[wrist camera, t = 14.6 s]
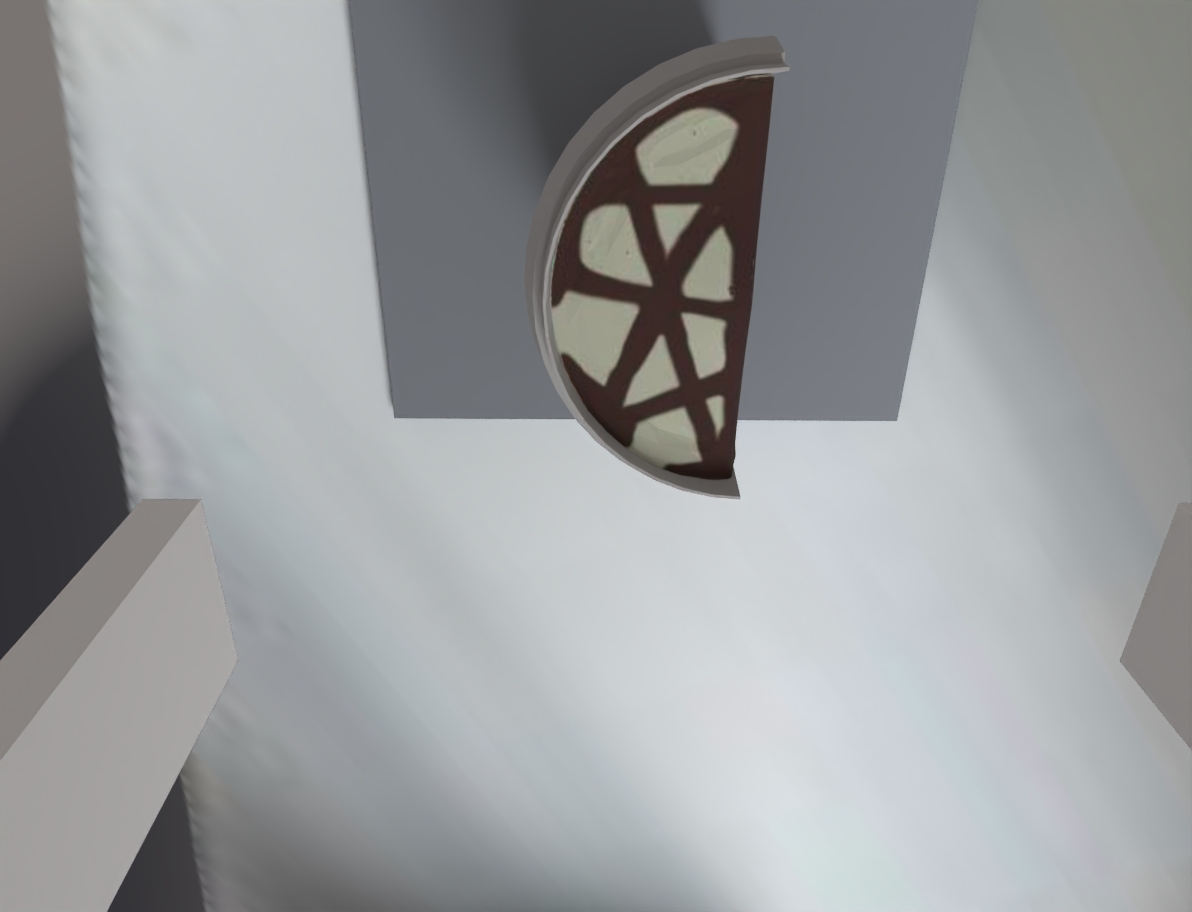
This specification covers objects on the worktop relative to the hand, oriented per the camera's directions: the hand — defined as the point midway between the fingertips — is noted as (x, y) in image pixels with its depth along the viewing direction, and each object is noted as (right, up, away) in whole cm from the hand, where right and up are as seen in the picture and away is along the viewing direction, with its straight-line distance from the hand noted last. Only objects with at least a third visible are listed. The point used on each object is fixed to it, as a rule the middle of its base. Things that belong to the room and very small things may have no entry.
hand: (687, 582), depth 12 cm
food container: (0, +10, +19) cm, 22 cm away
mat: (+1, +10, +19) cm, 22 cm away
